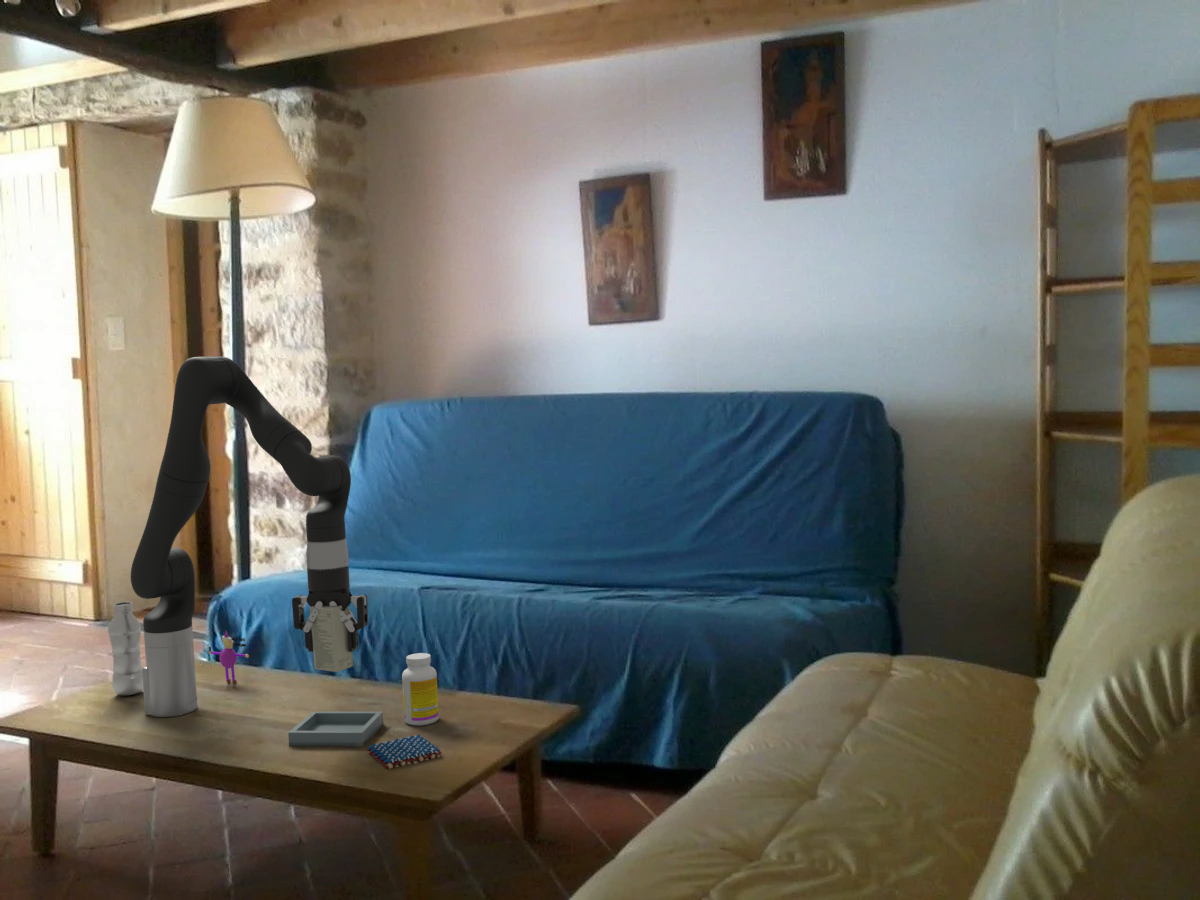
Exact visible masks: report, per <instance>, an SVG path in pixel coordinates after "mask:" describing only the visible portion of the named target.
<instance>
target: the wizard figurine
mask: <svg viewBox="0 0 1200 900" xmlns="http://www.w3.org/2000/svg"><path fill="white" fill-rule="evenodd" d="M224 631H225V632H224V635H222V636H221V639H222V644H223V647H224V648H223V649H222V650H221V651H212V649H211V648H212V646H211V645H208V654H209V655H218V656H219V662H220V665H221V666H222V667H223V668H224V669H225V670H224V671H225V678H226V683H231V682H232V684H236V683H237V682H238V680H236V678H235V677H236V676H235V665H236V663H237V661H238V657H243V658H246V659H249V654H248V653H245V654H244V653H237V652H236V651H235V649H233V646H234V647H241V648H242V647H243V648H246V646H247V645H246V643H240V642H246V638H245V637H244V638H242V637H235V638H234V637H230V636H229V634H228V631H227V630H224ZM236 641H237V642H236ZM238 641H239V643H238ZM229 669H231V672H230V673H231V678H230V675H229V674H230V673H229Z"/></svg>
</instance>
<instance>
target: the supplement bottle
mask: <svg viewBox="0 0 1200 900" xmlns="http://www.w3.org/2000/svg"><path fill="white" fill-rule="evenodd" d="M431 661H432V658H431V654H430V653H426V652H417V653H412V654H409V655H407V656H406V657H405V663H406V665H407V668H406V669H404V671H403V672H402V674H401V679H402V680H401V681H402V697H403V699H402V700H403V718H404V721H405V723H406V724H408V725H409V726H410V725H411V726H415V727H417V726H418V727H419V726H421V727H423V726H427V725H430V724H434V723H436V722H437V721H438V720H439V717H440V712H439V710H440V708H439V693H438V676H437V675H438V674H437V670H436V669H435V668H434V667H433V666H431Z"/></svg>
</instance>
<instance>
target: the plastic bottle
mask: <svg viewBox="0 0 1200 900" xmlns="http://www.w3.org/2000/svg"><path fill="white" fill-rule="evenodd" d="M133 607H134V605H133V602H132V601H122V602H121V601H120V602H116V603H114V604H113V614H114V616H113V617H112V619H111V621H110V622H109V624H108V627H107V632H108V637H109V641H110V645H111V650H112V654H113V655H112V658H113V659H112V660H113V662H112V663H113V669H112V673H113V674H112V677H111V678H112V680H111V687H112V690H113V692H114V694H116V695H118V696H131V695H136V694H139V693H141V692H143V677H142V669H143V665H142V659H141V658H142V657H141V651H140V650H141V634H142V633H141V631H142V625H141V623H140V620H139V619H138V618H137V617H136V616H135V615H134V614H133V612H134V608H133Z"/></svg>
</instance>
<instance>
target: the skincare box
mask: <svg viewBox="0 0 1200 900" xmlns="http://www.w3.org/2000/svg"><path fill="white" fill-rule="evenodd" d="M339 608H341V609H342V606H339V607H330V606H323V607H320V610H318V615H317V617H316V619H315V621H314V623H313V626H312V628H311V630H312V643H313V652H312V653H313V665H314V669H315V670H321V671H327V672H336V673H338V672H342V671H344V670H347V669H349V668H352V667H354V660H353V652H349V650H348V632H349V630H348V629H347V627H346V626H345V624H344V623H342V622H341V620H340V610H339ZM313 609H314V607H313V606H312V607H311V606H309V615H310V614H311V613H312V611H313ZM349 609H350V608H349V607H348V606H347V608H346V610H345V611H343V612H344V613H345V615H349ZM315 613H316V612H315Z"/></svg>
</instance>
